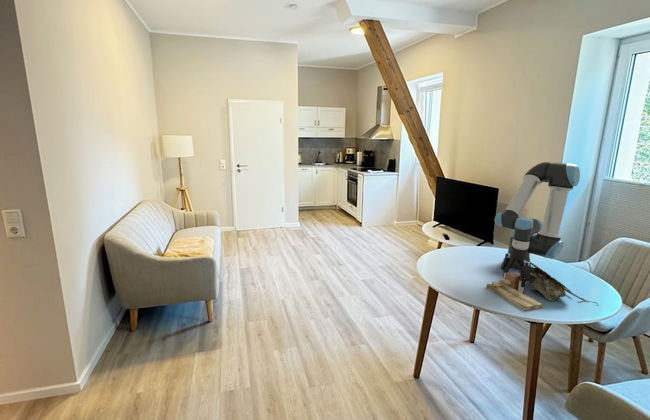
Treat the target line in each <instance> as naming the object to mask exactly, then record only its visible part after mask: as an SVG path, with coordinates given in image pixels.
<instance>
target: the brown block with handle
mask: <svg viewBox="0 0 650 420" xmlns="http://www.w3.org/2000/svg"><path fill="white" fill-rule="evenodd" d="M520 280H521V276H520V272H516V271H511V272H510V271H509V273H507V274H506V280H503V279H501V280H493V281H492V282H491V284H492V285H493V286H494V287H496V286H501V285H508V286H510V287H512V288H514V289H516V290H517V291H518V287H519V282H520Z"/></svg>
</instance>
